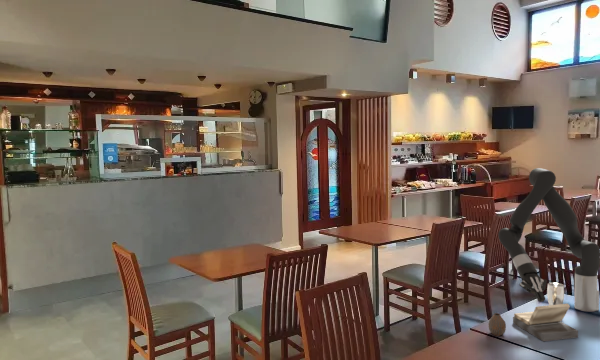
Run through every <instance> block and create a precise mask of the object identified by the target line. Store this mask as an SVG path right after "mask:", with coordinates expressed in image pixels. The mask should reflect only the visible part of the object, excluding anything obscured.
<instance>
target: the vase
mask: <svg viewBox="0 0 600 360" xmlns="http://www.w3.org/2000/svg"><path fill="white" fill-rule="evenodd" d="M501 315H502V314H500V313H498V312H494V314H493V315H492V316H491V318H489V320H488V331H489V332H490V333H491V334H492V335H494V336H498V337H499V336H502V335H504V334H505V332H506V330H507V329H506V328H507V325H506V324H507V323H506V321H505V320H504V318H503V317H502V316H501Z"/></svg>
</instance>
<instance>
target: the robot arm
mask: <svg viewBox="0 0 600 360" xmlns="http://www.w3.org/2000/svg"><path fill="white" fill-rule="evenodd" d="M528 180H529V183H530V184H531V186H532V189H531V191H530V192H529V194H528V195H527V196H526V197H525V198H524V199H523V200H522V201H521V202H520V203H519V204H518V205H517V207H516V208H515V209H514V212H513V213H512V215H511V216H510V218H509V223H510V224H511V226H510V228H509V227H508V228H507V227H504V228H500V230H499V231H498V240H499V242H500V243H501V245H502V246H503V248H504V249H505V250H506V251H507V252H508V255H509V257H510V258H511V260H512V262H513V265H514V268H515V269H516V271H517V274H518V275H519V277H520V279H521V282H520V283H519V287H521V288H522V289H524V291H527V293H529V294H533V295H535V297H536V299H537V300H538V302H539V303H541V302H542V303H543V302H544V301H546V296H545V295H544V293H543V292H544V291H545V290H546V289H547V288H546V287H547V284H548V283H547V282H548V280H547V279H543V278H541V277H540V275H538V270H537V269H536V267H535V264H534V263H533V261H532V259H531V257H529V255H528V252H526V249H525V248H524V246H523V245H522V244H520V243H519V242H520V240H521V239H522V236H523V232H524V229H525V225H527V222H528V220H529V219H530V217H531V215H532V214H533V213H534V211H535V209H536V208H537V207H538V205H539V204H540V202H541V201H543V203H544V205H545V207H546V208H547V210H548V211H549V214H550V215H551V218H552V219H553V220H554V222H555V224H556V225H557V227H558V228H559V230H560V231H561V234H562V235H563V236H564V238H565V240H566V242H567V244H568V246H569V249H570V251H571V253H572V254H573V256H574V257H576V258H578V259H580V260H581V261H580V265H577V266H575V268H574V308H575V309H576V310H579V311H582V312H591V313H593V312H597V311H599V310H600V291H599V290H598V272H599V270H600V246H599V245H598V244H597V243H596V242H592V241H588V240H586V239H585V238H584V237H583V236H582V233H580V230H579V229H578V217H577V215H576V213H575V211H574V210H573V208H572V207H571V205H570V204H569V202H568V201H567V200H566V199H565V198H564V197H563V196H562V195H561V194H560V193H559V192H558V191H557V190H556V188H555V186H554V185H555V184H556V180H557V178H556V174H555V173H554V172H553V171H552V170H549V169H545V168H541V167H540V168H539V167H537V168H533V169H532V170H531V171H530V173H529V175H528Z"/></svg>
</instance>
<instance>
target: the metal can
mask: <svg viewBox="0 0 600 360" xmlns="http://www.w3.org/2000/svg"><path fill="white" fill-rule="evenodd" d="M546 287H547V288H546V289H547V290H546V296H547V302H548V305H558V304H564V300H565V299H564V298H565V288H564V284H562V283H559V282H548V283H547V286H546Z"/></svg>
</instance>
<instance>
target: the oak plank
mask: <svg viewBox="0 0 600 360" xmlns="http://www.w3.org/2000/svg"><path fill="white" fill-rule="evenodd" d="M570 307H571V306H570V304H569V303H563V304H558V305H549V304H548V305H540V306H539V305H538V306H536V307H535V308H534V310H533V311H532V312H533V314H532V316H531V318H530V320H529V323H530V324H539V323H548V322H557V321H560V322H562V321H563V319H564V317H565V316H566V314H567V312H568V311H569V309H570Z"/></svg>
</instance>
